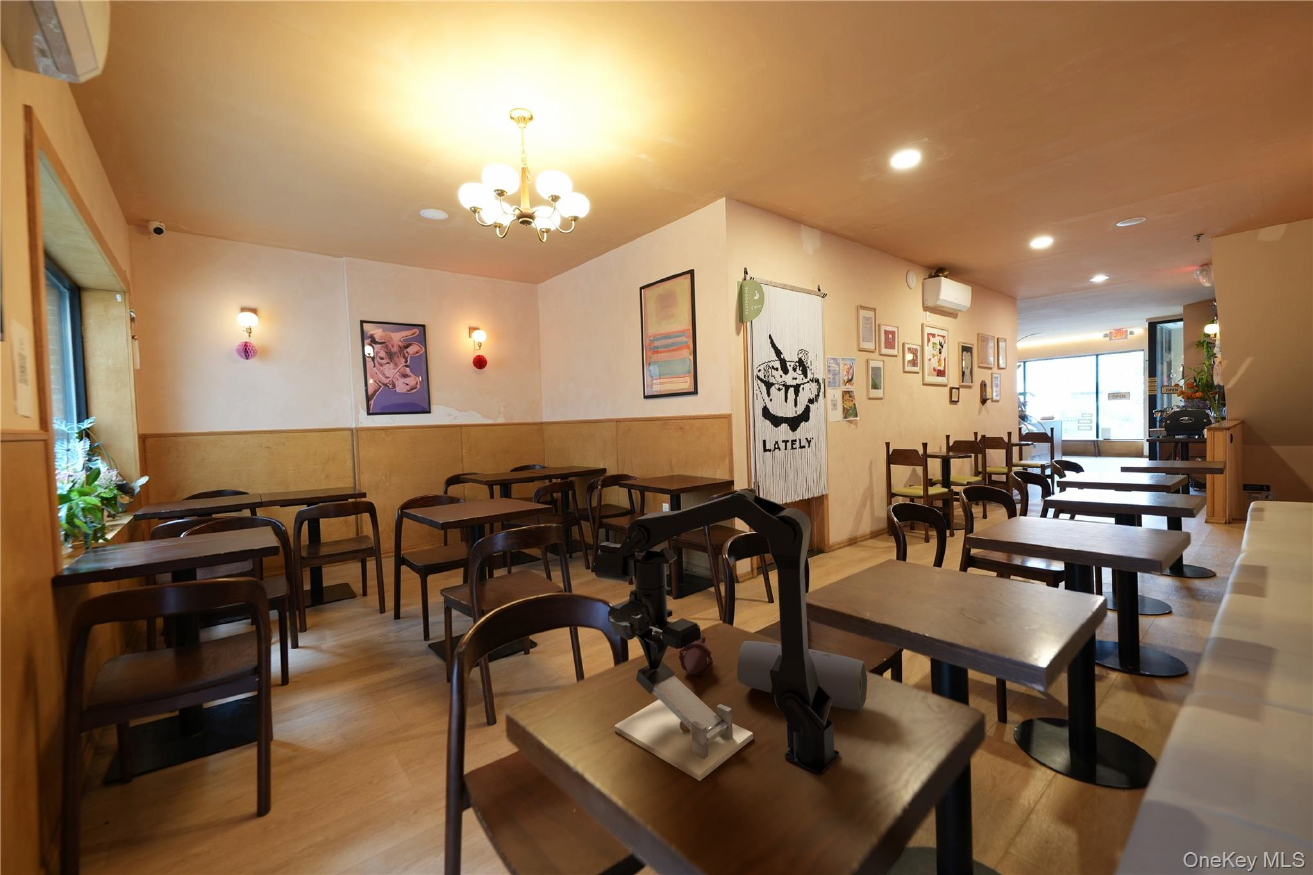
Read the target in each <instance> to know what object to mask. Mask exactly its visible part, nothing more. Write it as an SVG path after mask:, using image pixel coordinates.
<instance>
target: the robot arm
mask: <svg viewBox="0 0 1313 875" xmlns="http://www.w3.org/2000/svg"><path fill="white" fill-rule="evenodd" d="M731 519H738V520H740V521H742V522H743V523H745V525H746V526H748V528H750V529H751V530H752V531H754V532H755V533H756V534H758V535H759V536H761V537H763V538H765V539H766V540H767V544H768V549H769V553H770V556H771V558H772V560H773V563H774V565H775V568H776V571H777V572H776V573H777V589H778V590H777V591H778V609H779V610H778V612H779V628H780V629H779V630H780V644H781V654H782V655H778V656H777V658H776V660H775V662H774V664H773V665H772V667H771V669H770V678H771V682H772V690H771V693H769V696H771V697H772V696H774V697H773V698H774V702H775V705H776V707H777V709H778V710H780V711H781V712H782V713H783V716H784V718H785V720H786V722H787V723H786V738H787V740H786V743H787V748H788V750H787V751H786V752H785V753H784V759H785V760H788V761H790V762H792V763H794V764H796V765H798V766H800V767H802V768H804V769H806V770H809V771H811V772H812V773H814V774H817V775H823V774H824V773H825V771H826V770H827V769H828V768H830V766H831V765H832V764H833V763H834V762H835V761H837V759H838V758H839V757H840V751H838V750H837V749H835V736H834V735H835V734H834V722H833V721H832V720H830V719H829V714H830V710H831V707H832V706H831V704H832V701H833V698H832V697H831V696H830V695H829V694H828V692H827V691H826V690H825V689H824V688H823V687H822V686H821V685H820V684H819V683H818V679H817V674H816V670H815V666H814V663H813V660H812V658H811V656H810V654H809V650H808V649H809V640H808V638H809V637H808V619H807V618H808V617H807V595H806V578H805V574H806V573H805V564H806V561H807V560H806V558H807V554H808V549H809V544H810V538H811V530H812V523H811V519H810V517H809V515H807V514H806V513H805V512H804V511H803V510H801V509H798V508H794V507H786V506H784V505H782V504H780V503H778V502H775V501H774V500H773V501H772V500H770V499H767V498H765V497H761V496H759V495H757V494H756V493H754V492H751V490H748V489H740V490H738V491H736V492H734V493H733V494H729V495H726V496H723V497H719V498H716V499H714V500H713V499H712V500H710V501H707V502H704V503H701V504H697V505H694V506H691V507H688V508H685V509H681V510H673V511H671V510H666V511H665V510H664V511H655V512H650V513H647V514H645V515H643V516H640V517H639V518H635V519H634V520H631V521H630V522H629V524H628V525H629V526H628V528H627V535H626V537H625V538H624V540H623V542H622V543H621V544H620V543H613V542H610V541H603V542H602V543H600V544H599V546H598V547H599V550H598V552H597V553H596V556H595V560H594V563H593V571H594V572H593V573H594V575H595V577H596V578H597V579H598V580H606V581H614V582H621V583H627V582H629V581H630V580H632V579H631V578H633V577H634V589H632V590H630V591H629V592H630V593H629V595H628V597H629V598H628V599H627V600H624V601H622V602H618V603H616V604H614V605H611V606H610V608H609V609H608V611H607V621H608V623H610V626H611V628H612V632H613V634H614V635H615V636H617V637H621V638H624V640H627V641H631V640H633V639H634V638H636V639H637V640H638V642H639V643H640V646H641V648H642V651H643V654H644V656H645V659H646V662H647V665H649V667H650V668H653V669H654V670H656V669H658V668H659V666H660V663H661V661H663V658H664V656H665V653H666V651H667V649H668V647H671V648H672V649H676V650H681V649H682V648H684V647H685V646H687V645H689V644H691V643H693V642H695V641H697V640H699V639H701V635H702V634H701V626H700V625H699V624H698V623H697V622H695V621H691V620H689V619H686V618H684V617H683V618H682V617H681V618H679V619H677V620H675V621H674V620H672V619H669V618H671V617H672V616H673V609H669V608H668V596H669V595H672V593H673V592H672V588H671V587H668V586H667V568H666V567H667V566H666V565H669V564H670V563H673V561H674V560H676V559H677V555H676V554H675V553H674V552H673V551H671V550H670V548H669V547H668V546H665V547H663V548H661V549H660V550H658V549H657V550H656V549H653V548H655V547H657V546H659V545H660V544H662V543H665V542H666V541H668V540H670V539H672V538H674V537H676V536H677V535H680V534H684V533H687V532H690V531H693V530H697V529H702V528H704V527H708V526H712V525H715V524H719V523H722V522H726V521H729V520H731ZM638 551H639V552H638Z"/></svg>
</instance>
